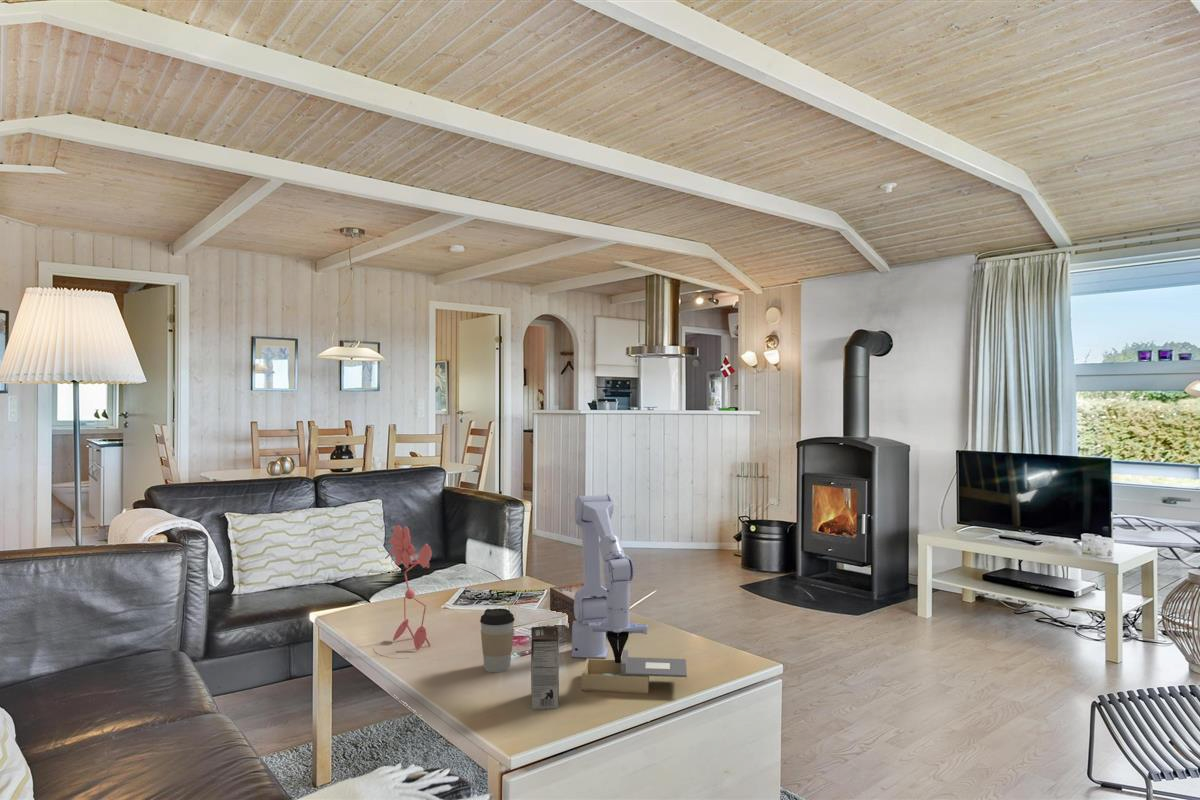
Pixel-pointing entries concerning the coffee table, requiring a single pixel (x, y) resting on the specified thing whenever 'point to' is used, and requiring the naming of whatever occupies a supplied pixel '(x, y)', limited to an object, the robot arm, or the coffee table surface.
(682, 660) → the lid
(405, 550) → the figurine
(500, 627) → the coffee cup
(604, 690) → the mailer box
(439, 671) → the coffee table surface
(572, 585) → the tissue box cover
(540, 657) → the coffee box
